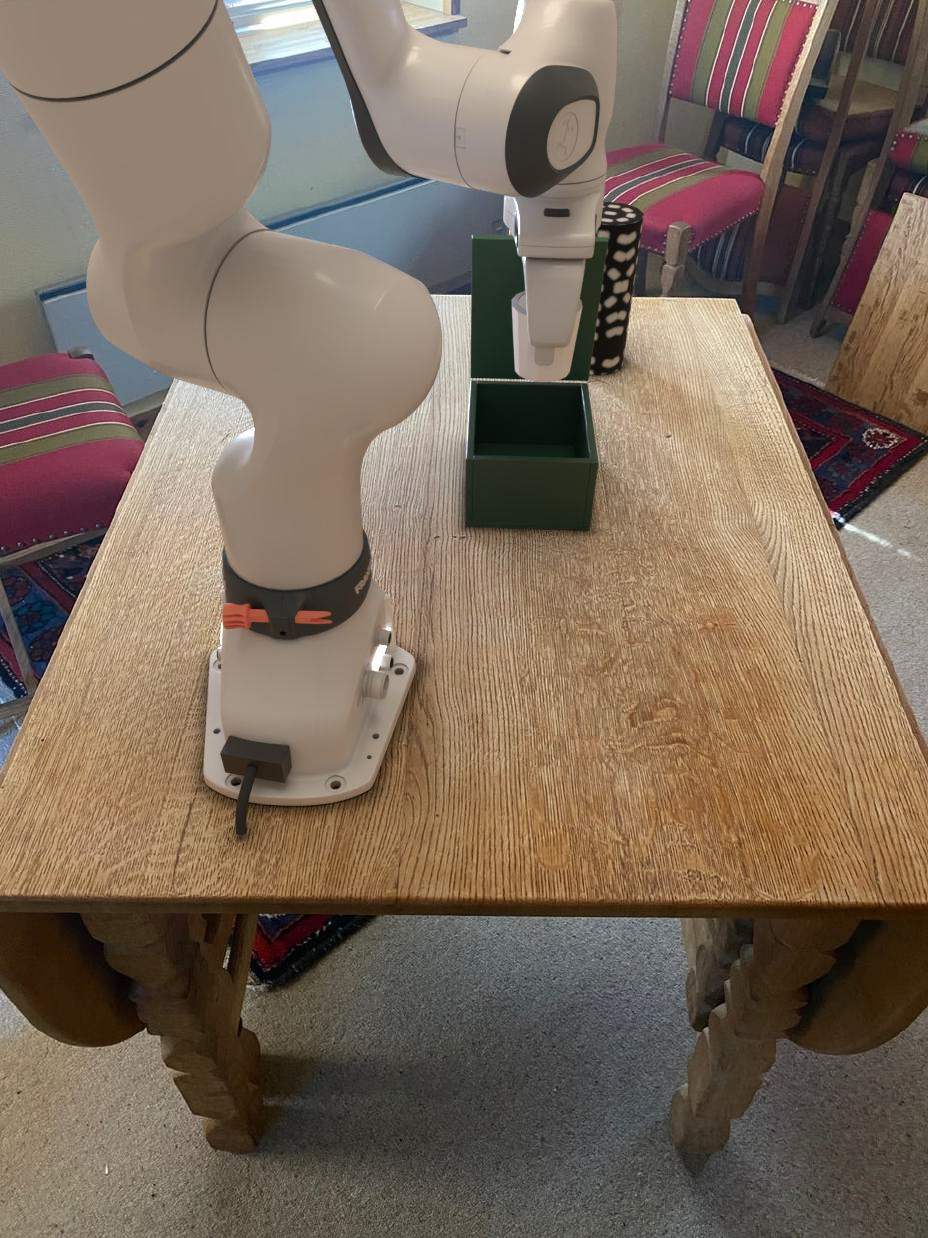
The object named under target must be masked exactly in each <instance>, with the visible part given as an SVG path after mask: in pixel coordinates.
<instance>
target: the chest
mask: <svg viewBox="0 0 928 1238" xmlns="http://www.w3.org/2000/svg"><path fill="white" fill-rule="evenodd" d="M468 401H469V402H468V412H467V413H468V416H467V432H466V450H465V484H464V485H465V486H464V487H465V489H464V490H465V492H464V493H465V494H464V495H465V496H464V527H465V528H473V529H475V528H476V529H508V530H509V529H511V530H543V531H545V530H547V531H580V532H581V531H583V532H586V531H587V532H589V531H590V530H591V523H592V517H593V516H592V515H593V509H594V501H595V500H594V499H595V492H596V485H597V477H598V469H599V457H598V449H597V442H596V435H595V427H594V420H593V412H592V403H591V397H590V390H589V383H588V382H568V381H565V382H564V381H553V382H535V381H528V380H522V381H521V380H520V381H519V380H488V379H486V380H485V379H478V380H476V379H471V380H470V381H469V398H468Z"/></svg>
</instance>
